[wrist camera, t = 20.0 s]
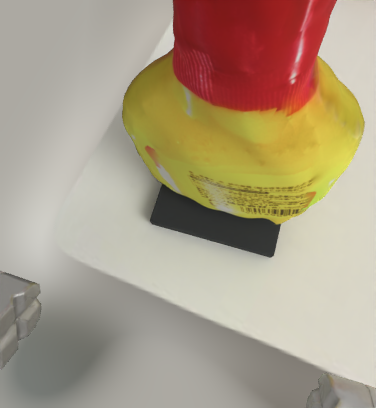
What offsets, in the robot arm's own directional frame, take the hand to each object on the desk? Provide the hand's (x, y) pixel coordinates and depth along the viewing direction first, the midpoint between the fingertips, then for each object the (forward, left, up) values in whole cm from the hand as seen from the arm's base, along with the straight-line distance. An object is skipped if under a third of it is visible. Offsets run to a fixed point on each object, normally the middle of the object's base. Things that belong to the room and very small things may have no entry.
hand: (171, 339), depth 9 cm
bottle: (0, +10, -13) cm, 17 cm away
